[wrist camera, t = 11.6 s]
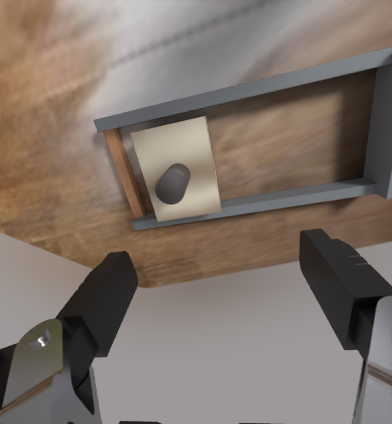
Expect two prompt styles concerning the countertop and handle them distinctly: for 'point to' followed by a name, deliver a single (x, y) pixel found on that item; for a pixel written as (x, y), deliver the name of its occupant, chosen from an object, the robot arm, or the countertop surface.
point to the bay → (381, 106)
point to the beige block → (178, 169)
